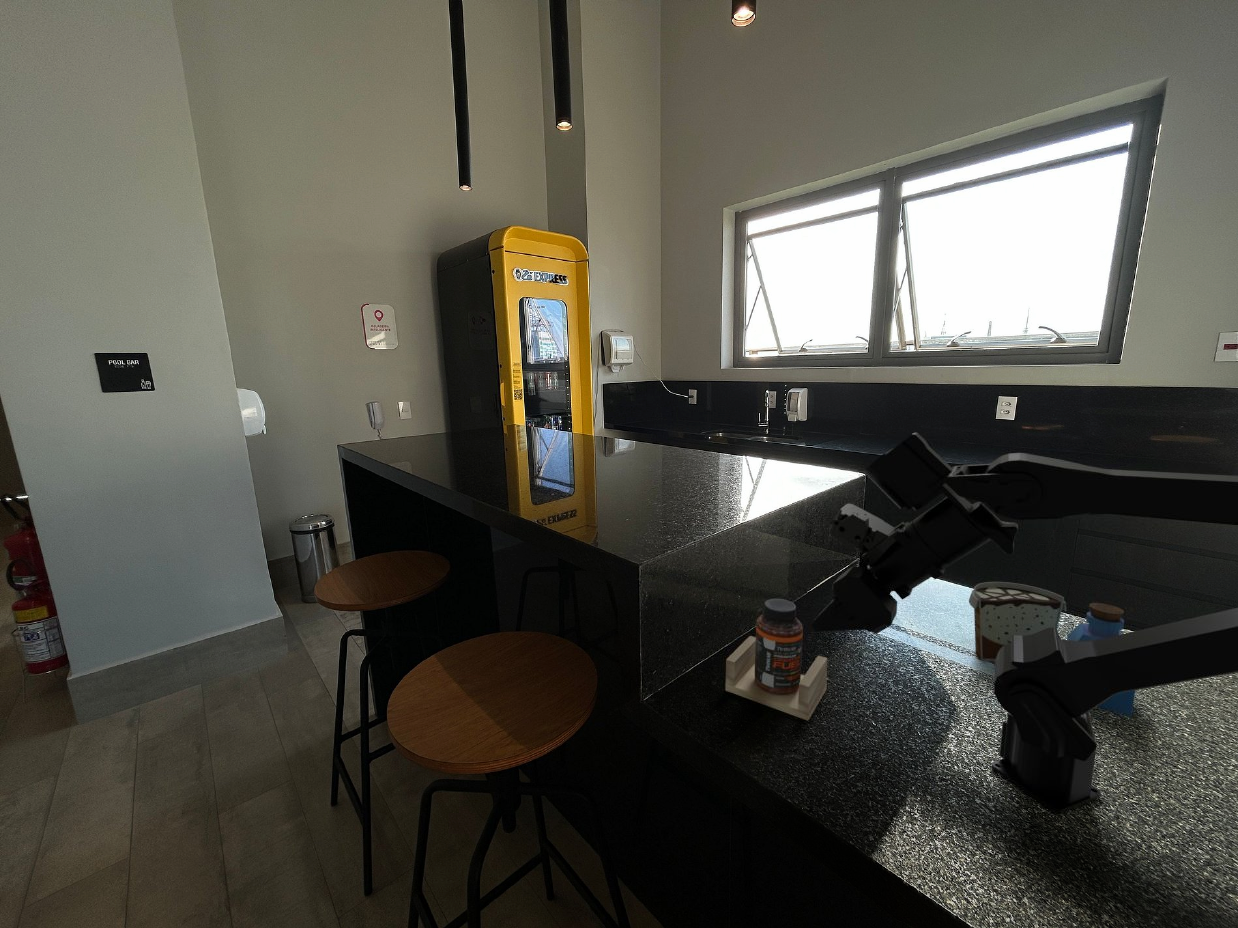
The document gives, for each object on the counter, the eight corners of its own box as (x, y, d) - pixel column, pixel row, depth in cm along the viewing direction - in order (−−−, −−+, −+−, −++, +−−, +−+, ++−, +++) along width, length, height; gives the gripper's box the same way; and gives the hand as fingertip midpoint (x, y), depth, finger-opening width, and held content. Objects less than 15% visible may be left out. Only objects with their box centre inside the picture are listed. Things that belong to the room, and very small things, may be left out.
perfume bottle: (1062, 676, 71) (1072, 594, 69) (1125, 692, 67) (1137, 605, 65) (1064, 697, 66) (1074, 610, 64) (1131, 716, 62) (1144, 623, 60)
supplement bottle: (774, 701, 65) (776, 618, 63) (745, 677, 70) (746, 599, 69) (810, 689, 67) (813, 608, 66) (780, 667, 73) (782, 591, 71)
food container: (1031, 641, 80) (1037, 580, 79) (1060, 662, 74) (1068, 597, 73) (948, 639, 81) (952, 579, 80) (970, 659, 75) (975, 595, 74)
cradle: (826, 689, 69) (827, 658, 68) (808, 720, 63) (809, 686, 62) (749, 664, 76) (749, 635, 75) (725, 690, 69) (725, 659, 69)
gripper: (891, 472, 65) (802, 542, 74) (857, 501, 51) (751, 584, 59) (961, 541, 62) (860, 607, 70) (947, 593, 47) (820, 668, 55)
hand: (824, 613), depth 64 cm, fingers open, 9 cm apart
